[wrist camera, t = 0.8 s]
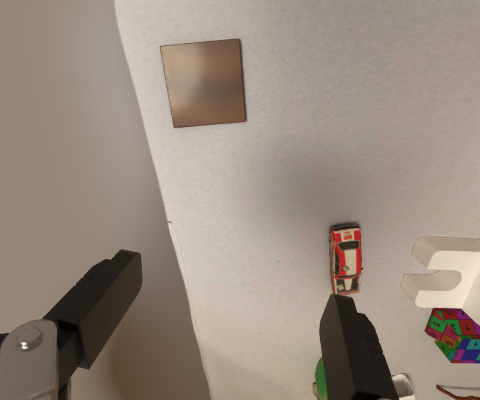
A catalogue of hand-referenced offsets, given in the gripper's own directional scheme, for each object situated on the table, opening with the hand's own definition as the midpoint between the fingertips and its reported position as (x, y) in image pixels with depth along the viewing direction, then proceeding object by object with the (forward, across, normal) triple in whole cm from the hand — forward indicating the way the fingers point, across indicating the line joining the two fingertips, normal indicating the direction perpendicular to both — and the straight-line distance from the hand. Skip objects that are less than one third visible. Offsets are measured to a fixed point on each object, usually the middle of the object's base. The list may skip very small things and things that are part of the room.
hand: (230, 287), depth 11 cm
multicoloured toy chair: (+30, -40, +28) cm, 57 cm away
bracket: (+31, -35, +16) cm, 49 cm away
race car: (+28, -15, +16) cm, 35 cm away
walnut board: (+26, +8, -5) cm, 28 cm away
